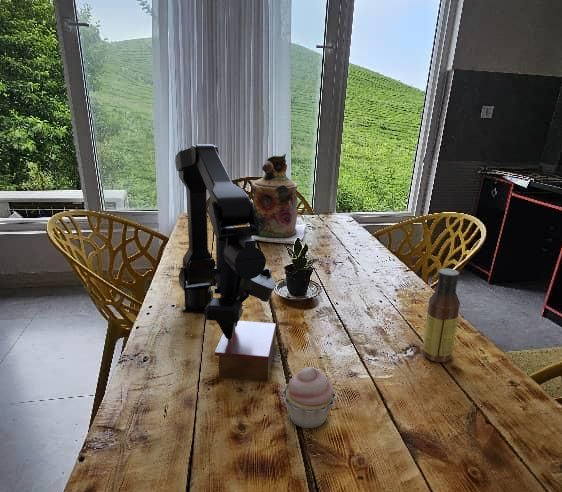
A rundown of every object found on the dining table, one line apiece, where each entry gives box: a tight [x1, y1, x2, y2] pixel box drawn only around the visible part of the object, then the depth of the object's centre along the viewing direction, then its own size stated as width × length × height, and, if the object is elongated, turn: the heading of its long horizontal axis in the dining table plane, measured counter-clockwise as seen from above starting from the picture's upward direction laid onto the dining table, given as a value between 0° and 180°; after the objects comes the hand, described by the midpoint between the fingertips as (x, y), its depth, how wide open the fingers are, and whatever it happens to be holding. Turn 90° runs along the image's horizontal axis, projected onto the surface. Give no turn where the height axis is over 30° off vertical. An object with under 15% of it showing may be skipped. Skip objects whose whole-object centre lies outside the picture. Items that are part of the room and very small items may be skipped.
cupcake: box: [281, 366, 338, 429], centre depth 75 cm, size 9×9×10 cm
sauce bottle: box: [422, 267, 461, 363], centre depth 93 cm, size 6×6×20 cm
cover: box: [213, 320, 277, 360], centre depth 90 cm, size 10×14×5 cm
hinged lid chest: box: [218, 327, 277, 383], centre depth 92 cm, size 10×14×5 cm
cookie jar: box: [248, 152, 307, 245], centre depth 173 cm, size 25×25×32 cm
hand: (231, 332), depth 90 cm, fingers closed on cover, 5 cm apart
